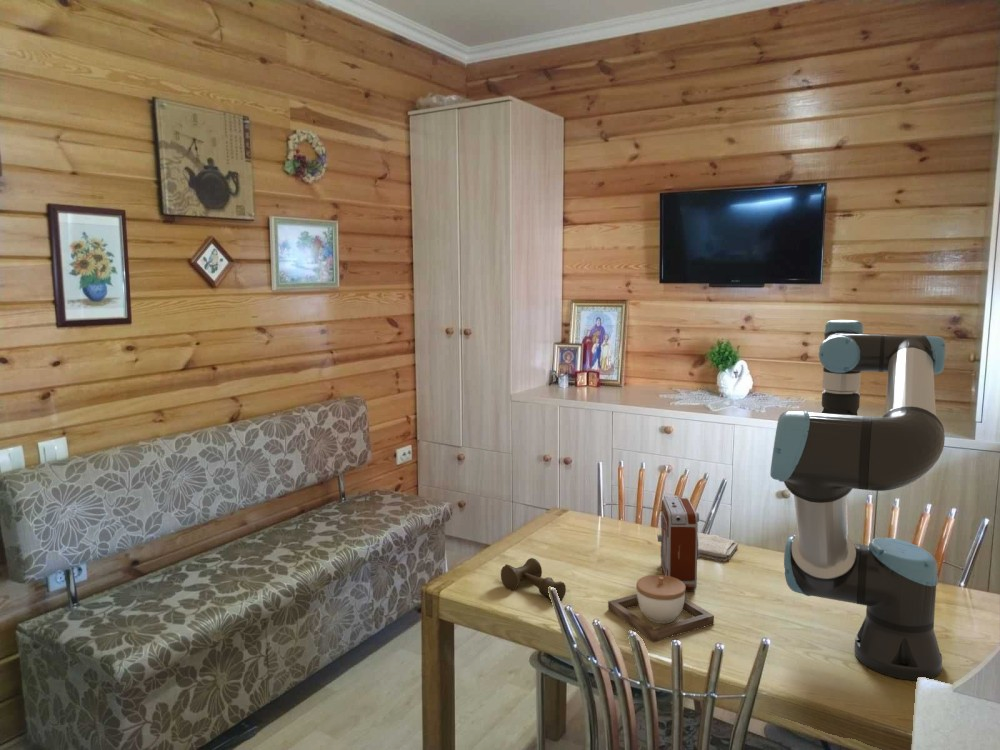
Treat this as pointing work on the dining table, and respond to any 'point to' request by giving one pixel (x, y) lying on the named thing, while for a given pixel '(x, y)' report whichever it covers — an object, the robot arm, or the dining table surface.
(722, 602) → the dining table surface
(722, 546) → the washcloth
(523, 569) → the kendama
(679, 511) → the cine camera
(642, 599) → the lidded jar
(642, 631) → the brown wooden tray
